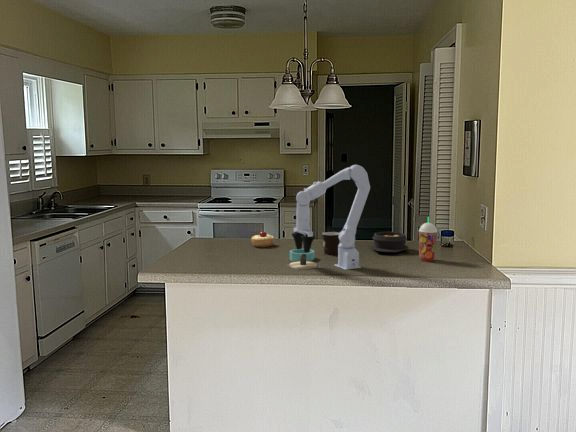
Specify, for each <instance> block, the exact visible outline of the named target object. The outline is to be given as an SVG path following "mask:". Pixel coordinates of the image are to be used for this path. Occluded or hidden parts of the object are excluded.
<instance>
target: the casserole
mask: <svg viewBox="0 0 576 432" xmlns="http://www.w3.org/2000/svg"><path fill="white" fill-rule="evenodd" d="M371 238H372V240H373V243H372V244H371V245H370V247H371V249H373V250H375V251H376V252H378V253H379V252H380V253H389V254H391V253H393V254H394V253H400V252H402V251H406V250H408V249H409V248H410V247H409V246H408V245H406V241H407V240H408V238H407V237H406V234H405V233H403V232H398V231H378V232H375V233H374V234H373V236H372V237H371Z"/></svg>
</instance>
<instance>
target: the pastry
mask: <svg viewBox="0 0 576 432" xmlns="http://www.w3.org/2000/svg"><path fill="white" fill-rule="evenodd" d="M250 240H251V243H252V244H251V245H252V246H253V247H255V248H270V246H271V247H272V246H273V245H274V243H275V236H274V235H270V234H269V233H267V232H266V231H264V230H263V229H262V228H261V229H260V232H259V234H255V235H253V236H251V238H250Z"/></svg>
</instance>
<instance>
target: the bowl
mask: <svg viewBox="0 0 576 432" xmlns="http://www.w3.org/2000/svg"><path fill="white" fill-rule="evenodd" d="M300 254H306V261H309V262H313V261H315V250H314V249H311V248H310V252H306V253H305V252H304V248H301V249H295V248H294V249H291V250H289V260H290V261H292V262H298V261H300Z"/></svg>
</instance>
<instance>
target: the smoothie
mask: <svg viewBox="0 0 576 432" xmlns="http://www.w3.org/2000/svg"><path fill="white" fill-rule="evenodd" d="M437 239H438V229H437V227H436V226H435V224H433V223H431V222H430V216H427V222H424V223H422V224H421V225H420V227H419V229H418V245H419V246H418V251H419V252H418V253H419V258H420V260H421V261H422V262H426V263H428V262H429V263H430V262H434V261H435V258H436V250H437Z"/></svg>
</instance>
